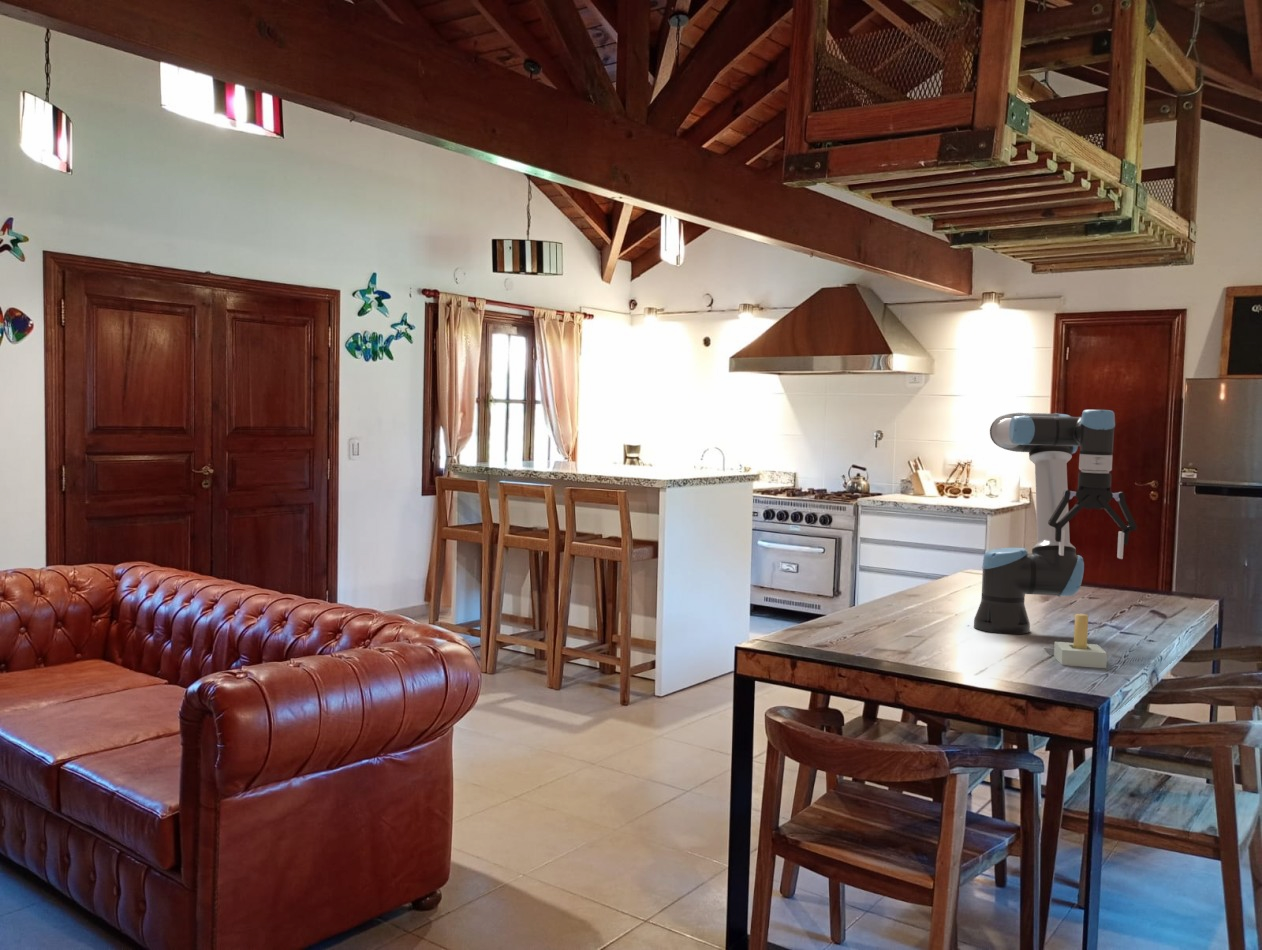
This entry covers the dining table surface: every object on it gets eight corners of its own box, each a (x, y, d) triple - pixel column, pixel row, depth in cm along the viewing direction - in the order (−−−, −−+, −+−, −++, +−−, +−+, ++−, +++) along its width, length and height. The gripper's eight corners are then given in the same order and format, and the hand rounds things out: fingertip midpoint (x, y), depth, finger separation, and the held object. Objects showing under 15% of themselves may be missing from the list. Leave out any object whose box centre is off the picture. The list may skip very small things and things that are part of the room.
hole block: (1061, 666, 244) (1062, 649, 244) (1053, 657, 254) (1054, 641, 253) (1106, 669, 242) (1107, 653, 241) (1096, 660, 251) (1097, 644, 251)
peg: (1074, 664, 246) (1076, 615, 246) (1071, 661, 249) (1073, 613, 249) (1087, 665, 246) (1089, 616, 245) (1084, 662, 249) (1087, 614, 248)
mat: (1048, 656, 255) (1049, 654, 255) (1043, 649, 263) (1043, 647, 263) (1100, 659, 252) (1100, 658, 252) (1092, 653, 260) (1092, 651, 260)
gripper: (1043, 470, 249) (1039, 555, 251) (1153, 474, 243) (1148, 561, 245) (1039, 468, 257) (1034, 551, 258) (1146, 472, 251) (1141, 557, 252)
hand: (1090, 556), depth 252 cm, fingers open, 13 cm apart
